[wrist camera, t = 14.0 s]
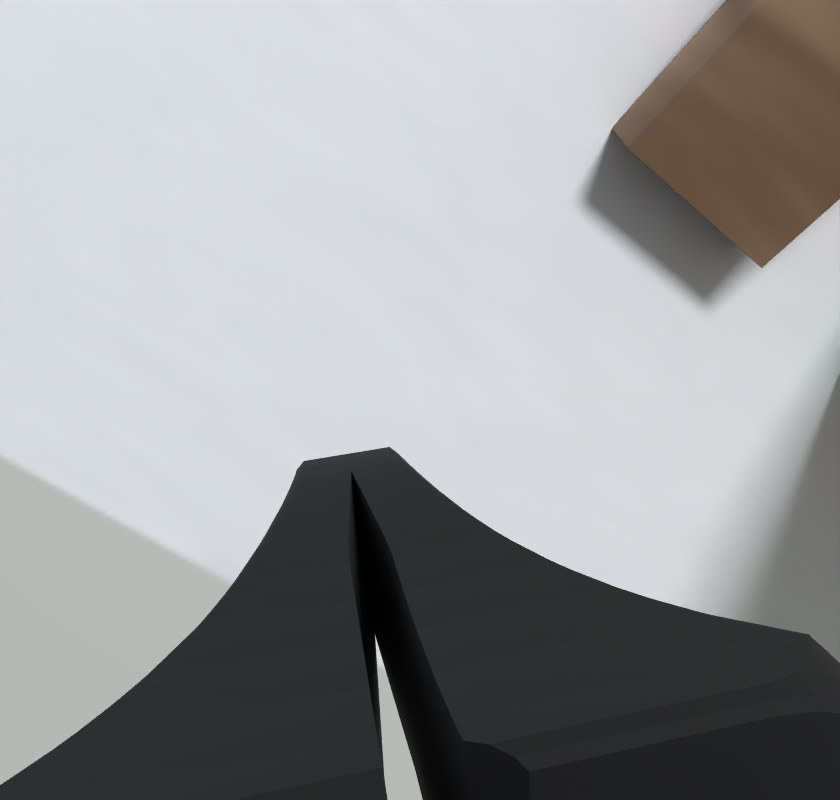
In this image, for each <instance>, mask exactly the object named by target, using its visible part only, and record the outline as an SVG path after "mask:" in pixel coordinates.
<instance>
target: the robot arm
mask: <svg viewBox="0 0 840 800" xmlns="http://www.w3.org/2000/svg"><path fill="white" fill-rule="evenodd" d="M375 636H376V639H377V642H378V646H379V649H380V653H381V656H382V659H383V663H384V666H385V670H386V673H387V676H388V680H389V683H390V686H391V690H392V693H393V697H394V700H395V703H396V707H397V710H398V713H399V717H400V720H401V723H402V727H403V730H404V733H405V737H406V740H407V743H408V747H409V750H410V754H411V757H412V760H413V764H414V767H415V770H416V774H417V778H418V782H419V786H420V790H421V794H422V798H423V800H840V663H839V662H838V661H837V660H836V659H835V658H834V657H832V656H831V655H830V654H829V653H828V652H827V651H826V650H825V649H824V648H823V647H822V646H821V645H819V644H818V643H817V642H816V641H815V640H814V639H813V638H811V636H810V635H808V634H803V633H798V632H793V631H788V630H783V629H778V628H773V627H768V626H763V625H758V624H753V623H748V622H743V621H738V620H733V619H728V618H723V617H718V616H713V615H709V614H705V613H701V612H697V611H693V610H690V609H686V608H683V607H679V606H675V605H672V604H668V603H665V602H661V601H658V600H654V599H651V598H647V597H644V596H641V595H638V594H635V593H632V592H629V591H626V590H623V589H620V588H617V587H614V586H611V585H609V584H606V583H604V582H601V581H599V580H596V579H593V578H591V577H588V576H586V575H583V574H581V573H578V572H576V571H573V570H571V569H568V568H566V567H564V566H562V565H559V564H557V563H555V562H553V561H550V560H548V559H546V558H544V557H542V556H540V555H538V554H537V553H535V552H533V551H531V550H529V549H527V548H525V547H523V546H521V545H519V544H517V543H515V542H513V541H511V540H510V539H508V538H506V537H504V536H503V535H501V534H499V533H498V532H496V531H494V530H493V529H491V528H490V527H488V526H487V525H485V524H484V523H482V522H480V521H479V520H477V519H476V518H474V517H473V516H471V515H470V514H469V513H467V512H466V511H464V510H463V509H462V508H461V507H459V506H458V505H457V504H455V503H454V502H453V501H452V500H450V499H449V498H448V497H446V496H445V495H444V494H443V493H441V492H440V491H439V490H438V489H436V488H435V487H434V486H433V485H432V484H430V483H429V482H428V481H427V480H426V479H425V478H424V477H422V476H421V475H420V474H419V473H418V472H417V471H416V470H415V469H414V468H412V467H411V466H410V465H409V464H408V463H407V462H406V461H405V460H404V459H403V458H402V457H401V456H400V455H399V454H398V453H397V452H395V451H394V450H393V449H391V448H390V447H387V448H381V449H375V450H369V451H363V452H357V453H351V454H345V455H338V456H332V457H326V458H320V459H314V460H308V461H304V462H303V463H302V464H301V465H300V467H299V468H298V469H297V471H296V475H295V477H294V480H293V482H292V485H291V487H290V489H289V492H288V494H287V496H286V498H285V500H284V502H283V504H282V506H281V508H280V510H279V512H278V513H277V515H276V517H275V519H274V521H273V522H272V524H271V526H270V528H269V529H268V531H267V533H266V535H265V537H264V538H263V540H262V542H261V543H260V545H259V546H258V548H257V549H256V551H255V552H254V554H253V555H252V557H251V558H250V560H249V561H248V563H247V564H246V566H245V567H244V569H243V570H242V572H241V573H240V574H239V576H238V577H237V579H236V580H235V582H234V583H233V584H232V585H231V587H230V588H229V590H228V591H227V592H226V593H225V595H224V596H223V597H222V598H221V600H220V601H219V602H218V604H217V605H216V606H215V607H214V608H213V609H212V611H211V612H210V613H209V614H208V615H207V617H206V618H205V619H204V620H203V621H202V622H201V623H200V625H199V626H198V627H197V628H196V629H195V630H194V631H193V632H192V633H191V634H190V635H189V636H188V637H186V639H184V640H183V641H182V642H181V643H180V644H179V645H178V646H177V647H176V648H175V649H174V650H173V651H172V652H171V653H170V654H169V655H168V656H167V657H166V658H165V659H164V660H163V661H162V662H161V663H159V664H158V665H157V666H156V668H154V669H153V670H152V671H151V672H150V673H149V674H148V675H147V676H146V677H145V678H144V679H142V680H141V681H140V682H139V683H138V684H137V685H135V686H134V687H133V688H132V689H131V690H129V691H128V692H127V693H126V694H125V695H123V696H122V697H121V698H120V699H119V700H117V701H116V702H115V703H114V704H113V705H111V706H110V707H109V708H108V709H106V710H105V711H104V712H103V713H101V714H100V715H99V716H97V717H96V718H95V719H93V720H92V721H91V722H90V723H88V724H87V725H86V726H84V727H83V728H82V729H81V730H79V731H78V732H77V733H75V734H74V735H73V736H71V737H70V738H68V739H67V740H66V741H64V742H63V743H62V744H60V745H59V746H57V747H56V748H55V749H53V750H52V751H50V752H49V753H47V754H46V755H44V756H43V757H41V758H40V759H38V760H37V761H35V762H34V763H33V764H31V765H30V766H28V767H27V768H25V769H24V770H22V771H21V772H19V773H18V774H16V775H15V776H14V777H12V778H10V779H9V780H7V781H6V782H4V783H3V784H1V785H0V800H387V794H386V787H385V780H384V769H383V751H382V736H381V720H380V705H379V689H378V677H377V676H378V675H377V659H376V644H375Z"/></svg>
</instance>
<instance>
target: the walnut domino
mask: <svg viewBox="0 0 840 800" xmlns="http://www.w3.org/2000/svg"><path fill="white" fill-rule="evenodd" d="M612 129H613V131H614V132H615V133H616V134H617V136H618V137H619V138H620V140H621V141H622V142H623V144H624V145H625V146H626V147H627V148H628V149H629V150H630V151H631V152H632V153H633V154H634V155H635V156H637V157H638V158H639V159H640V160H641V161H642V162H643V163H644V164H646V165H647V166H648V167H649V168H650V169H651V170H652V171H653V172H655V173H656V174H657V175H658V176H659V177H660V178H661V179H662V180H663V181H665V182H666V183H667V184H668V185H669V186H670V187H671V188H672V189H674V190H675V191H676V192H677V193H678V194H679V195H680V196H681V197H683V198H684V199H685V200H686V201H687V202H688V203H689V204H690V205H692V206H693V207H694V208H695V209H696V210H697V211H698V212H699V213H701V214H702V215H703V216H704V217H705V218H706V219H707V220H708V221H710V222H711V223H712V224H713V225H714V226H715V227H716V228H717V229H719V230H720V231H721V232H722V233H723V234H724V235H725V236H726V237H728V238H729V239H730V240H731V241H732V242H733V243H734V244H735V245H737V246H738V247H739V248H740V249H741V250H742V251H743V252H744V253H745V254H747V255H748V256H749V257H750V258H751V259H752V260H753V261H754V262H756V263H757V264H758V265H759V266H760V267H761V268H762V267H763V266H764V265H766V264H767V263H768V262H769V261H770V260H771V259H772V258H773V257H775V256H776V255H777V254H778V253H779V252H780V251H781V250H782V249H784V248H785V247H786V246H787V245H788V244H789V243H790V242H791V241H793V240H794V239H795V238H796V237H797V236H798V235H799V234H800V233H802V232H803V231H804V230H805V229H806V228H807V227H808V226H809V225H811V224H812V223H813V222H814V221H815V220H816V219H817V218H818V217H820V216H821V215H822V214H823V213H824V212H825V211H826V210H827V209H829V208H830V207H831V206H832V205H833V204H834V203H835V202H836V201H838V200H839V199H840V0H726V1H725V2H724V4H723V5H722V6H721V7H720V8H719V9H718V10H717V11H716V13H715V14H714V15H713V16H712V17H711V18H710V19H709V20H708V21H707V23H706V24H705V25H704V26H703V27H702V28H701V29H700V30H699V31H698V33H697V34H696V35H695V36H694V37H693V38H692V39H691V40H690V42H689V43H688V44H687V45H686V46H685V47H684V48H683V49H682V50H681V52H680V53H679V54H678V55H677V56H676V57H675V58H674V59H673V61H672V62H671V63H670V64H669V65H668V66H667V67H666V68H665V69H664V71H663V72H662V73H661V74H660V75H659V76H658V77H657V78H656V79H655V81H654V82H653V83H652V84H651V85H650V86H649V87H648V88H647V90H646V91H645V92H644V93H643V94H642V95H641V96H640V97H639V98H638V100H637V101H636V102H635V103H634V104H633V105H632V106H631V107H630V109H629V110H628V111H627V112H626V113H625V114H624V115H623V116H622V117H621V119H620V120H619V121H618V122H617V123H616V124H615V125H614V126H613V128H612Z"/></svg>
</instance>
